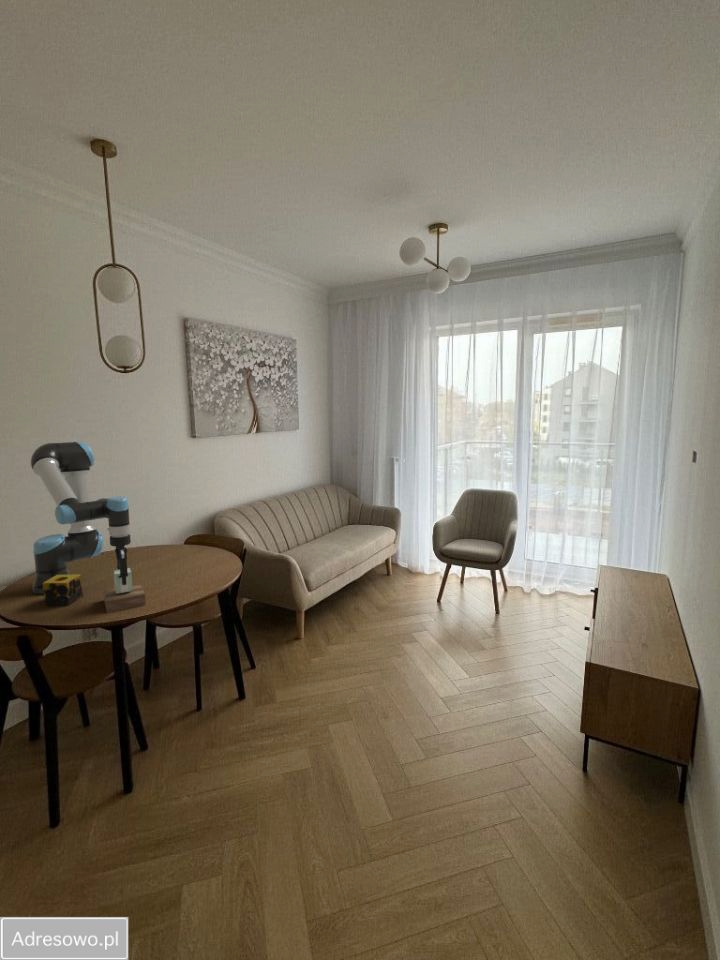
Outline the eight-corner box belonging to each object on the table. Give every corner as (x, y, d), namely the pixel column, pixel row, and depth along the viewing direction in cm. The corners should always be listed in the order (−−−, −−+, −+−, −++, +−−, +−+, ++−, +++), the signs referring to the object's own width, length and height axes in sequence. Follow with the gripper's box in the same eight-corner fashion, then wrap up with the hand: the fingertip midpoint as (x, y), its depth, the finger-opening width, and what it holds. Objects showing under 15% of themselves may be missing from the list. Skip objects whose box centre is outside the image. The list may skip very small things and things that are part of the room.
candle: (83, 596, 198) (81, 574, 197) (69, 606, 188) (67, 582, 187) (59, 596, 198) (57, 574, 196) (44, 606, 188) (42, 582, 186)
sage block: (114, 588, 192) (113, 570, 191) (130, 586, 195) (129, 567, 194) (116, 593, 187) (114, 574, 186) (132, 590, 190) (131, 572, 189)
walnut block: (104, 601, 194) (103, 589, 193) (140, 594, 202) (139, 583, 201) (107, 613, 182) (106, 601, 182) (145, 605, 190) (144, 594, 189)
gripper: (107, 531, 194) (111, 583, 197) (111, 541, 178) (115, 598, 181) (127, 528, 198) (130, 580, 201) (133, 539, 182) (136, 594, 185)
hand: (123, 589), depth 191 cm, fingers closed on sage block, 6 cm apart
